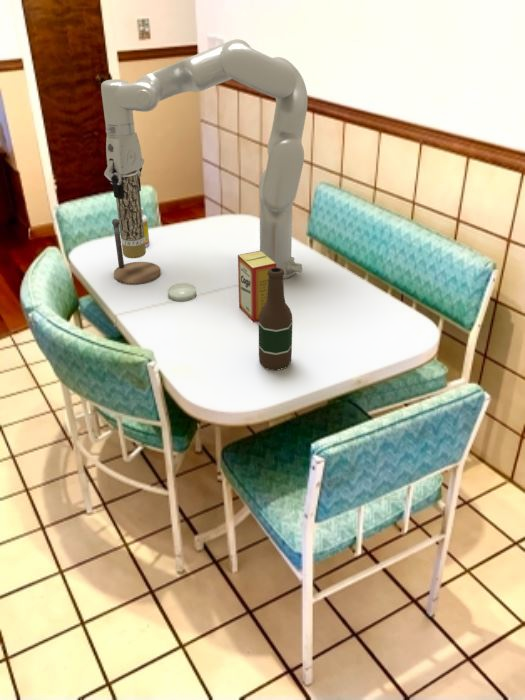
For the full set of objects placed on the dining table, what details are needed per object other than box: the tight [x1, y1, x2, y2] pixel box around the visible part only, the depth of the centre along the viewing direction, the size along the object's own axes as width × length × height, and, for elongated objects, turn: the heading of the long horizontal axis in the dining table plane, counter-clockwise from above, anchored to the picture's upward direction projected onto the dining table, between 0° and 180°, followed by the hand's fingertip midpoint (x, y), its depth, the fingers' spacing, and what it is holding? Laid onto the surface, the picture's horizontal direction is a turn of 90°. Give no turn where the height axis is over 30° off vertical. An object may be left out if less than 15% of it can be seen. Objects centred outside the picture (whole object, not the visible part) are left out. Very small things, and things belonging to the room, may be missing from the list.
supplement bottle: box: [141, 206, 150, 248], centre depth 211 cm, size 7×7×13 cm
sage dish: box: [167, 283, 197, 302], centre depth 182 cm, size 8×8×2 cm
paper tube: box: [115, 170, 147, 259], centre depth 184 cm, size 7×7×25 cm
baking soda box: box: [237, 250, 276, 323], centre depth 169 cm, size 10×6×16 cm
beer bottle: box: [258, 267, 293, 371], centre depth 145 cm, size 8×8×24 cm
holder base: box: [111, 218, 162, 286], centre depth 190 cm, size 14×14×17 cm
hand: (127, 193), depth 181 cm, fingers closed on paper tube, 6 cm apart
